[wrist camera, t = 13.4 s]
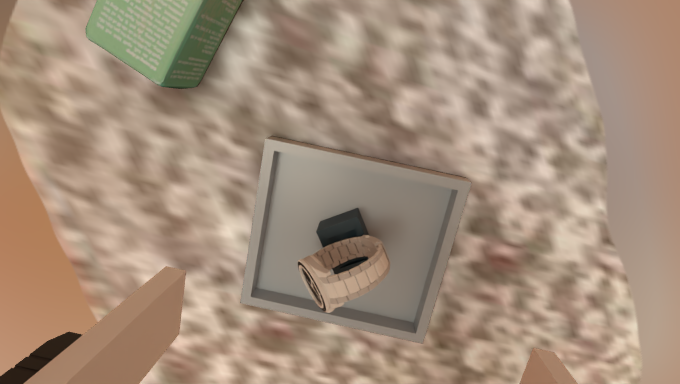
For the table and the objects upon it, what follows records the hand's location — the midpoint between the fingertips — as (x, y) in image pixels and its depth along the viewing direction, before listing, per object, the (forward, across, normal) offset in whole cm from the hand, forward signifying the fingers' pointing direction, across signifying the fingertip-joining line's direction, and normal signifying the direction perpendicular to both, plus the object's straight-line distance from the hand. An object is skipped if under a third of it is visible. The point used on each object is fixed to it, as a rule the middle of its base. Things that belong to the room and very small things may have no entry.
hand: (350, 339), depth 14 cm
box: (+26, +19, -14) cm, 35 cm away
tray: (+26, 0, +6) cm, 26 cm away
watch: (+25, 0, +6) cm, 26 cm away
